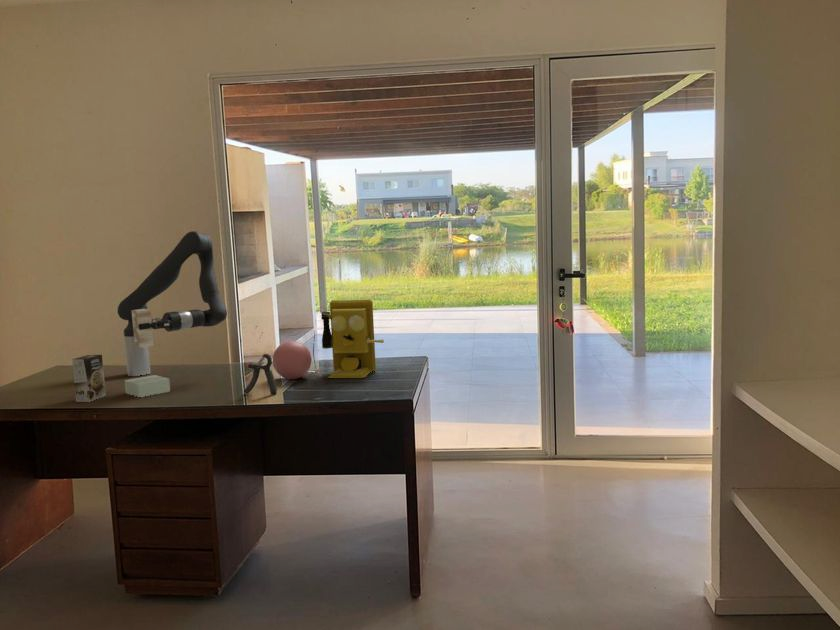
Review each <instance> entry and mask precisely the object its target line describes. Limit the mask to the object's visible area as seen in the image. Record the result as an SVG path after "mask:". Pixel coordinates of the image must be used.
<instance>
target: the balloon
mask: <svg viewBox="0 0 840 630" xmlns="http://www.w3.org/2000/svg"><path fill="white" fill-rule="evenodd" d="M312 358H313V357H312V354H311V351H310V350H309V348H308V347H307V346H306V345H305V344H304V343H303V342H299V341H296V340H288V341H285V342H283V343H281V344H280V345H278V347H276V349H275V350H274V352H273V354H272V366H273V368H274V370H275V372H276V373H277V374H278V375H279V377H282V378H284V379H287V380H298V379H300V378H302V377H303V376H305V375H306V374H307V373H308V371H310V368H311V366H312Z"/></svg>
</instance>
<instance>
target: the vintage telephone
mask: <svg viewBox="0 0 840 630" xmlns="http://www.w3.org/2000/svg"><path fill="white" fill-rule="evenodd" d="M320 308H322V306H321V307H319V308H318V309H317V311H316V315H317V313H318V311H319V310H320ZM323 309H324V311H322V312H321V317H320V318H321V320H322V321H323V323H322V324H323V332H322V337H321V344H322V349H325V350H327V349H331V351H332V366H333V372H331V374H330V373H329V374H328V373H322V375H325V376H326V375H328V376H327V379H328V378H364V377H365V378H366V377H368V376H369V375H370V374H371V373H372V372H371V371H377V365H376V351H375V350H376V345H375V343H381V344H383V343H384V338H382V339H375V326H374V322H375V321H374V306H373V301H372V300H371V299H344V300H343V299H342V300H341V299H338V300H337V299H336V300H333V299H332V300H331V301H330V302H329V310H330V311H326V309H325V308H323ZM314 324H316V319H315V323H314ZM315 336H316V331H314V335H313V341H315ZM312 347H313V348H312V356H313V357H312V358H313V362H314V364H316V361H315V359H316V358H315V344H313V346H312ZM314 368H315V370H317V369H316V368H317V367H316V365H314ZM334 371H335V372H334ZM370 372H371V373H370ZM369 373H370V374H369ZM368 374H369V375H368ZM367 375H368V376H367ZM365 378H364V379H365Z"/></svg>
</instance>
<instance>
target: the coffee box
mask: <svg viewBox="0 0 840 630" xmlns="http://www.w3.org/2000/svg"><path fill="white" fill-rule="evenodd" d="M71 363H72V371H73V383H74V393H75V402H77V403H91V401H92V402H94V400H95V401H97V400H100V399H103V398H105V397H107V396H106V395H107V394H106V383H105V375H104V364H103V354H87V355H84V356H79V357H76V358H72V362H71ZM104 396H105V397H104ZM102 397H103V398H102ZM99 398H100V399H99ZM96 399H97V400H96Z"/></svg>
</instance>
